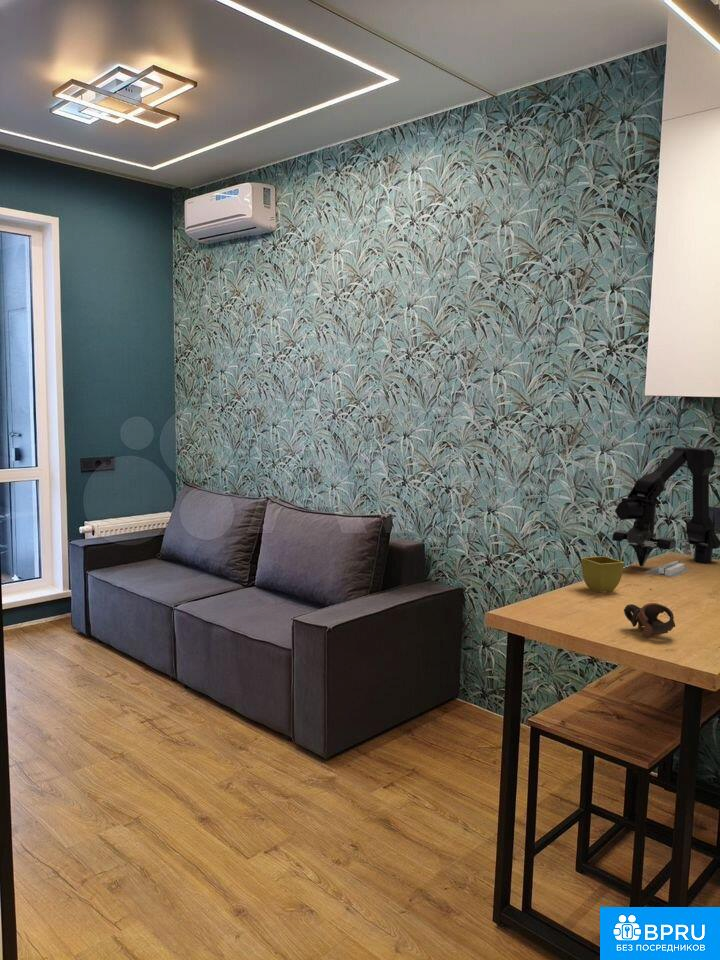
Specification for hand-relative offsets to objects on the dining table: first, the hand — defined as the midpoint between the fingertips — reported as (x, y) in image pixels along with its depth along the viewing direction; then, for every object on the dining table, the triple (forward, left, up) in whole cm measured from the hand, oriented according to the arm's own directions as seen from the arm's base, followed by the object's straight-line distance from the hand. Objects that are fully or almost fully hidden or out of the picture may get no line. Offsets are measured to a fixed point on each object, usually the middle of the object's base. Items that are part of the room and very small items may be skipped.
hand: (641, 565), depth 242 cm
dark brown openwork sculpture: (+61, +27, -2) cm, 67 cm away
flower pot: (+33, +2, -2) cm, 33 cm away
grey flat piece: (-3, +7, -2) cm, 8 cm away
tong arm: (-3, +8, 0) cm, 8 cm away
